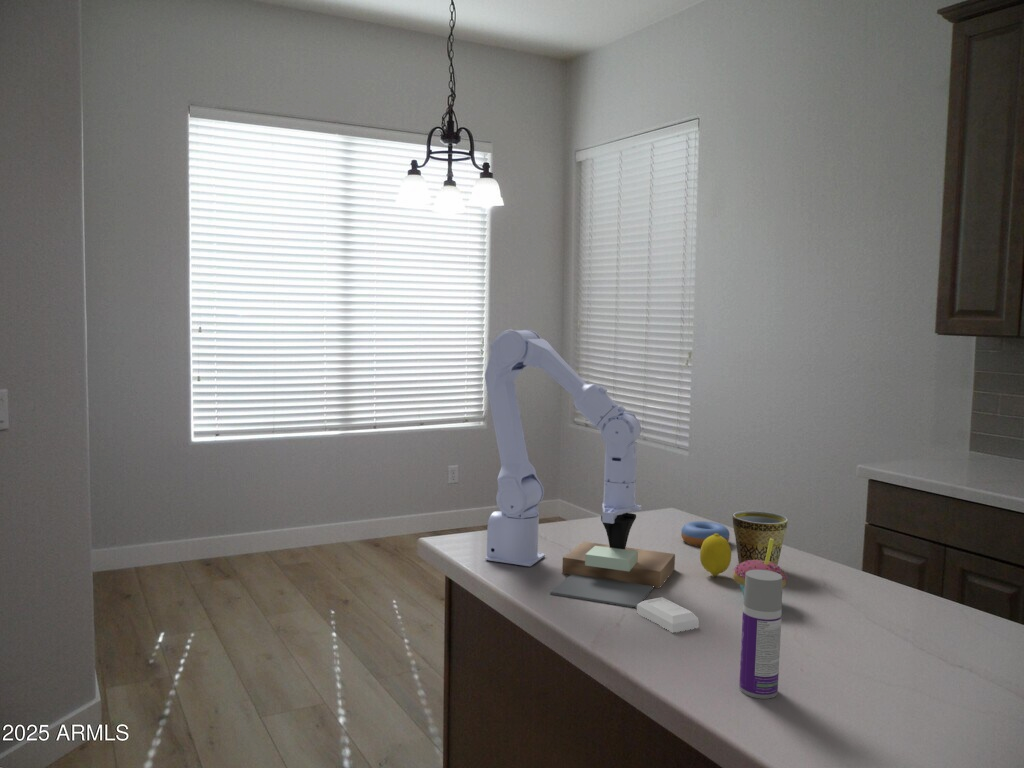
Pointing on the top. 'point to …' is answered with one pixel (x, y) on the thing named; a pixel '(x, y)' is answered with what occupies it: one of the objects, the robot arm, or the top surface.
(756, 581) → the container
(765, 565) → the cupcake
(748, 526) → the ceramic cup
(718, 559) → the lemon
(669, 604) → the soap bar
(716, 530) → the doughnut
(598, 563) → the tile
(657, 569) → the board
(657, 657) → the top surface
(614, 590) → the mat
